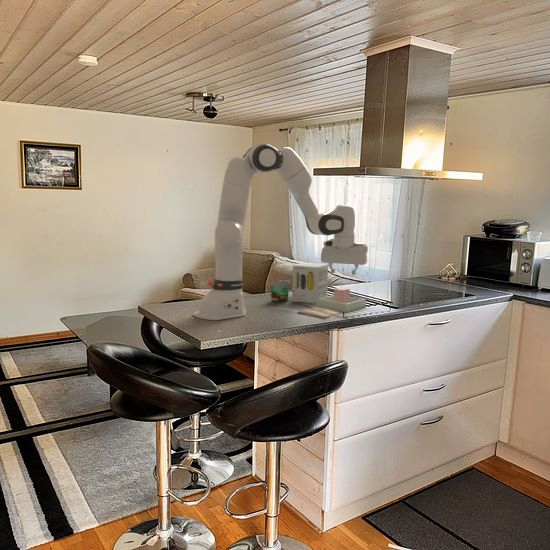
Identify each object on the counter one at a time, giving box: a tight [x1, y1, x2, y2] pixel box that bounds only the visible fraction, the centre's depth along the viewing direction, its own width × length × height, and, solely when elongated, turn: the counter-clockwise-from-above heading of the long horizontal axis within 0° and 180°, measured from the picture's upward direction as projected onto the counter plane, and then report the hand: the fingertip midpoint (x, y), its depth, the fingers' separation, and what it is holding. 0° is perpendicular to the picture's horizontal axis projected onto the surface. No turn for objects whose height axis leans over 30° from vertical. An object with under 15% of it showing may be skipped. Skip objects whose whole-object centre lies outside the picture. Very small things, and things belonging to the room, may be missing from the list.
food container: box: [269, 277, 292, 303], centre depth 237 cm, size 12×6×10 cm, turn 143°
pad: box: [297, 305, 345, 320], centre depth 214 cm, size 14×14×1 cm
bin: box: [316, 294, 367, 313], centre depth 225 cm, size 15×15×4 cm
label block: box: [333, 286, 351, 304], centre depth 225 cm, size 5×5×8 cm
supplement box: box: [291, 261, 329, 305], centre depth 238 cm, size 13×13×18 cm
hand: (343, 273), depth 223 cm, fingers open, 8 cm apart
